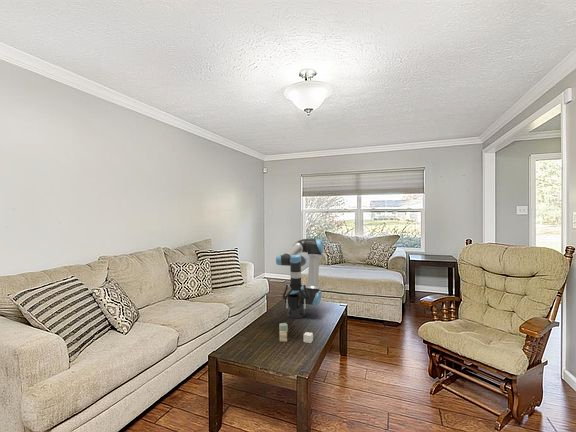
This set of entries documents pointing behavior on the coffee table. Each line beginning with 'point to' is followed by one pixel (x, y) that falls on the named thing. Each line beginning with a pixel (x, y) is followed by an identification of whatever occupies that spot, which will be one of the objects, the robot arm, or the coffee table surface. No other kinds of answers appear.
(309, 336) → the cream cube
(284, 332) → the maple cube
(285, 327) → the sage cube
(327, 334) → the coffee table surface
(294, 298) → the mug
